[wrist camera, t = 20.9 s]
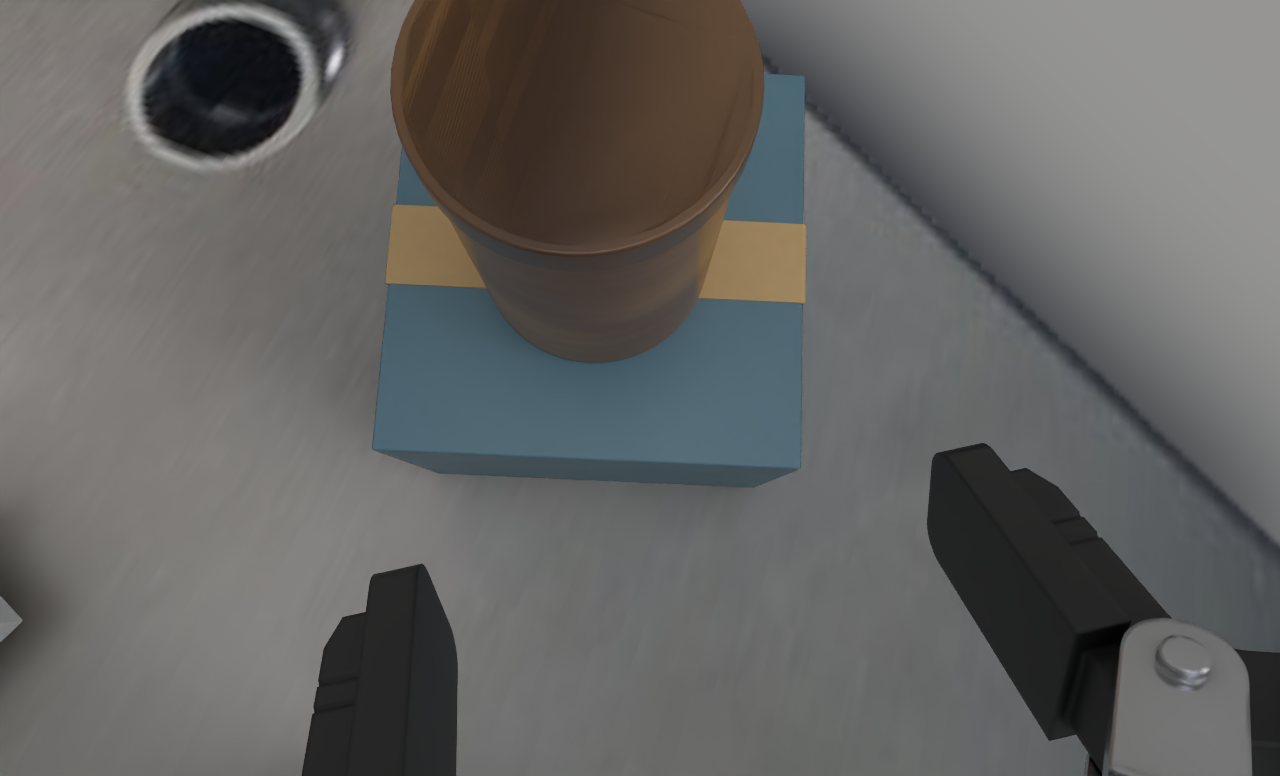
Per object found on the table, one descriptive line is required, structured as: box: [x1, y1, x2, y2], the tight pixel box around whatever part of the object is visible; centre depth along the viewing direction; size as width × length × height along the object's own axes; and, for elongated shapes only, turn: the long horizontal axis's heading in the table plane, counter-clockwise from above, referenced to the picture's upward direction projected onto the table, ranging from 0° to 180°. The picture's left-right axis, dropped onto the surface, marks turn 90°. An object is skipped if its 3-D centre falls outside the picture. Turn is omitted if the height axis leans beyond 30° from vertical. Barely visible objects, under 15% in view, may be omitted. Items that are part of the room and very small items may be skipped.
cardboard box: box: [372, 74, 806, 487], centre depth 24 cm, size 10×10×7 cm
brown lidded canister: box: [390, 0, 764, 363], centre depth 17 cm, size 6×6×8 cm
